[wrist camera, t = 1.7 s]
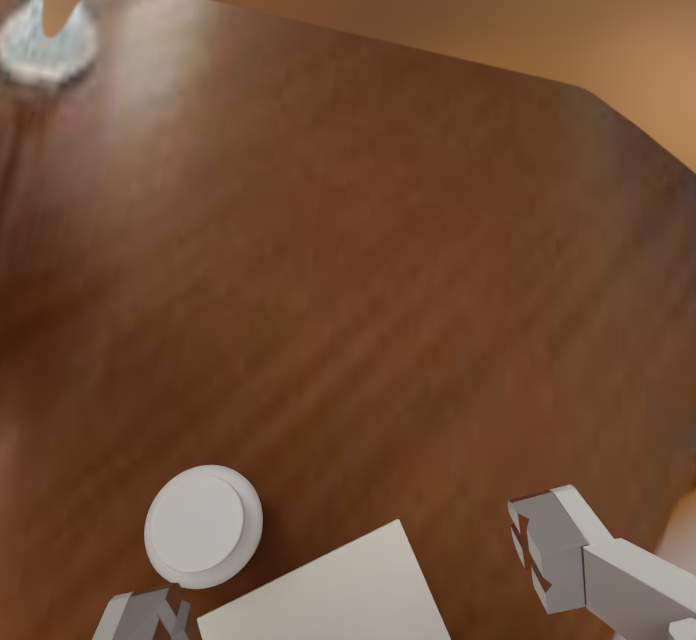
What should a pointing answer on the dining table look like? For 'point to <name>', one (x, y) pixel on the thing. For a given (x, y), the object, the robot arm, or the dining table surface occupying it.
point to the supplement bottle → (203, 526)
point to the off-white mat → (338, 598)
